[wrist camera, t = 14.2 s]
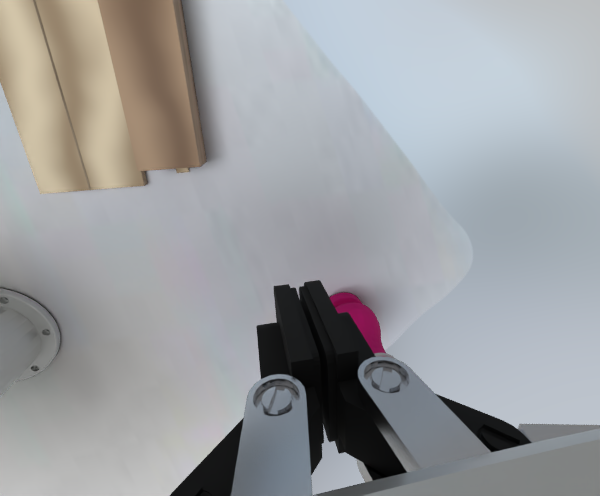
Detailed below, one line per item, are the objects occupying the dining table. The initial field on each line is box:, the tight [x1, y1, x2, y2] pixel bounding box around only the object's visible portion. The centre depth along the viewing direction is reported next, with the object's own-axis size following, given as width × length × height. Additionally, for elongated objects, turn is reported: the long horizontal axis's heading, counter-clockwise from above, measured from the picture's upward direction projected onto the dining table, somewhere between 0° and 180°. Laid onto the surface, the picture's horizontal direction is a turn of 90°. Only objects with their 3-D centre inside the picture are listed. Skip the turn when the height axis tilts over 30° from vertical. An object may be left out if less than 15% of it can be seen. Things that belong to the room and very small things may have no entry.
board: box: [0, 0, 189, 194], centre depth 29 cm, size 15×20×1 cm
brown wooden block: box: [98, 0, 207, 171], centre depth 28 cm, size 6×16×6 cm, turn 3°
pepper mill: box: [330, 293, 395, 359], centre depth 35 cm, size 7×7×20 cm
